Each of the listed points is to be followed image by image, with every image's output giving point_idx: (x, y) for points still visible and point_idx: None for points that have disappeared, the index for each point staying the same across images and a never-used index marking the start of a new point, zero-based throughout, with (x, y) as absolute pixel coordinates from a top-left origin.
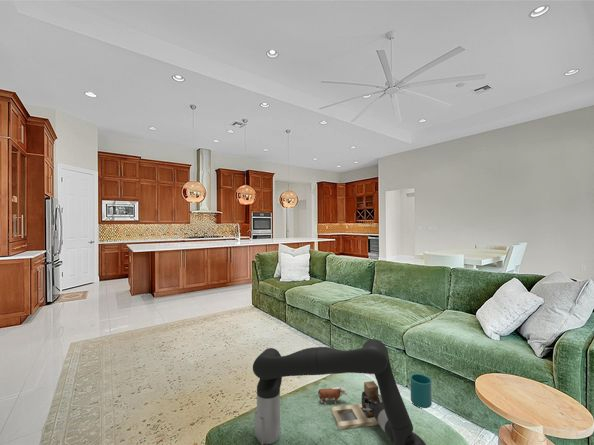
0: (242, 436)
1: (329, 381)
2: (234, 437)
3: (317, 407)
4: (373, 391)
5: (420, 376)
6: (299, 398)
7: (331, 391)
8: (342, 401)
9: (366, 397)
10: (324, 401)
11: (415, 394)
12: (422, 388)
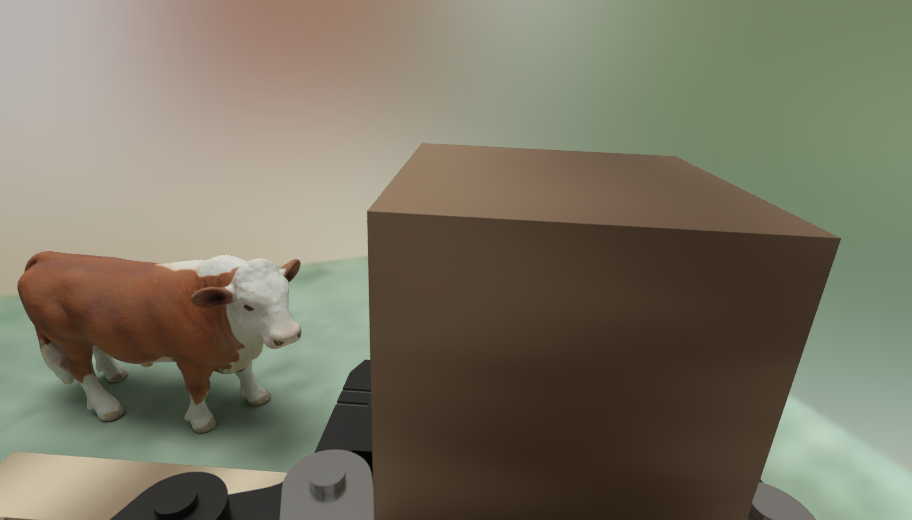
0: None
1: (364, 263)
2: None
3: (7, 413)
4: (580, 378)
5: None
6: (12, 317)
7: (127, 288)
8: (306, 402)
9: (317, 502)
10: (74, 373)
11: None
12: None
